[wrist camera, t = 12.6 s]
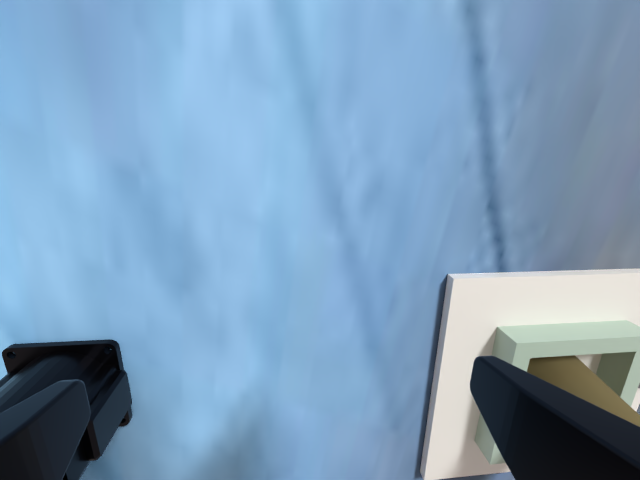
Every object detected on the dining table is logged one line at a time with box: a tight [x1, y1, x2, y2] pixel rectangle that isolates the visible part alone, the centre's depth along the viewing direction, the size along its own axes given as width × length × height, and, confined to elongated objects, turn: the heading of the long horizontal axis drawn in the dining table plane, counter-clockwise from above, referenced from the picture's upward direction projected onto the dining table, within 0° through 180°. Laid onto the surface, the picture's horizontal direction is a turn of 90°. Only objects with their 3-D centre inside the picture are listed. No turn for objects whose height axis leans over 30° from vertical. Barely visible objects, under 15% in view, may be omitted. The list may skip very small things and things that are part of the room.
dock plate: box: [420, 269, 640, 480], centre depth 24 cm, size 18×18×3 cm
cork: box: [527, 355, 640, 427], centre depth 19 cm, size 6×6×11 cm
